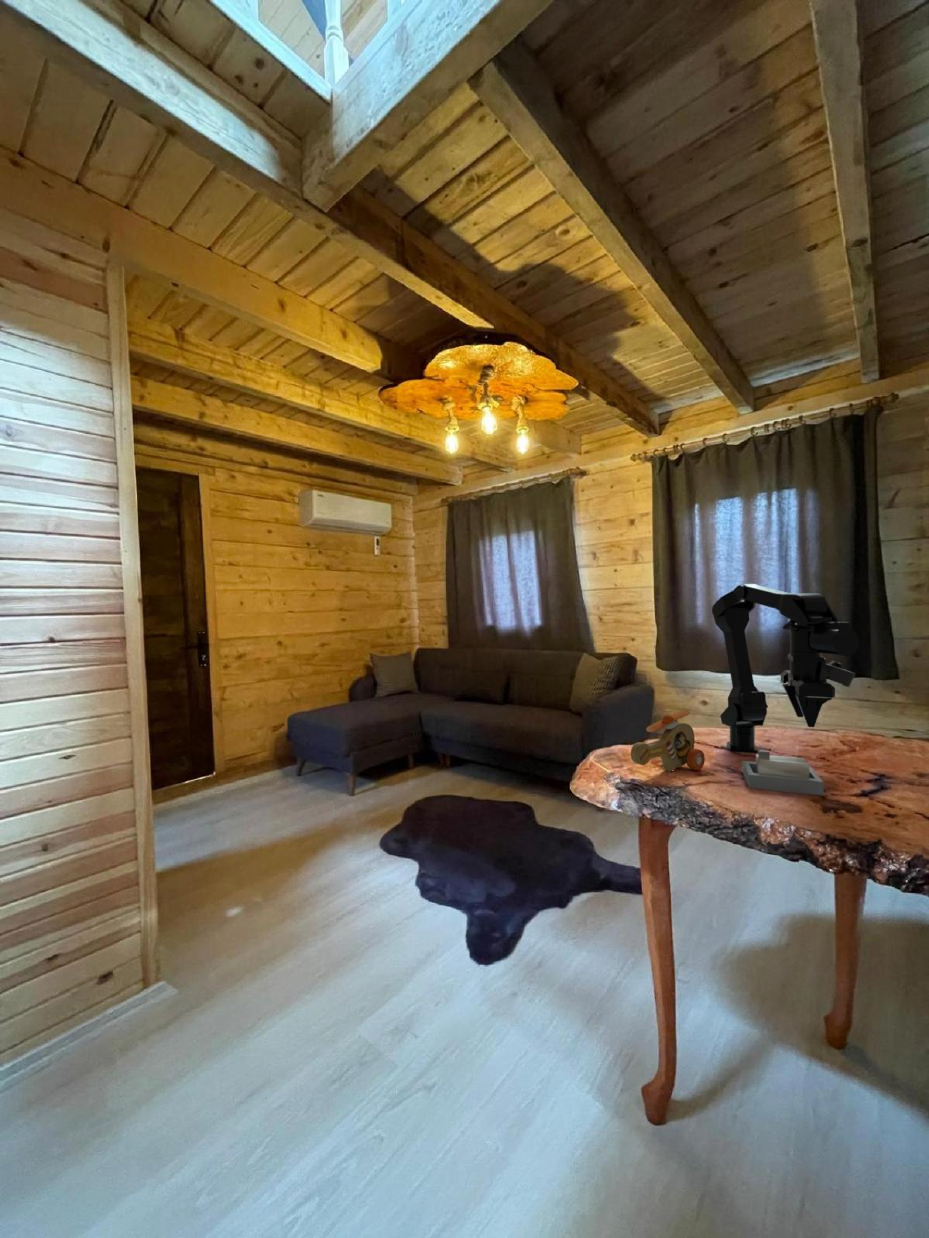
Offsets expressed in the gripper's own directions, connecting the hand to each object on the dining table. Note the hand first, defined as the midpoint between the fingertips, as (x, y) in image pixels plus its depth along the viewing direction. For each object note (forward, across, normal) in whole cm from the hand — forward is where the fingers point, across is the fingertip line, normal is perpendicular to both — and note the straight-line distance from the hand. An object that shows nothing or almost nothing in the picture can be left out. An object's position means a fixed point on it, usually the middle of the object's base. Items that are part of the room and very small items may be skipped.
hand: (805, 721), depth 110 cm
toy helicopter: (+12, -6, +28) cm, 31 cm away
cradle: (+12, -7, +6) cm, 15 cm away
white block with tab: (+11, -7, +6) cm, 14 cm away
